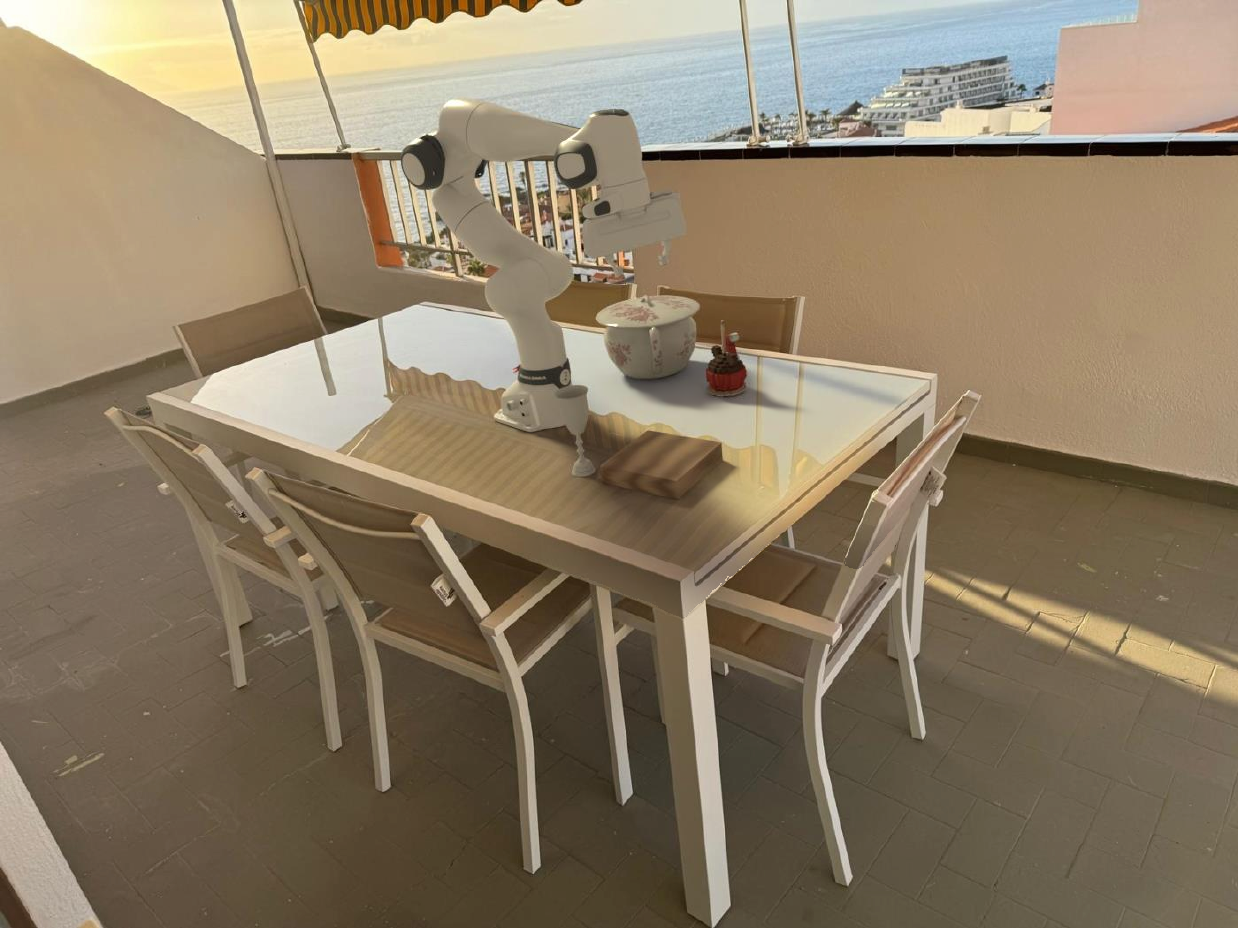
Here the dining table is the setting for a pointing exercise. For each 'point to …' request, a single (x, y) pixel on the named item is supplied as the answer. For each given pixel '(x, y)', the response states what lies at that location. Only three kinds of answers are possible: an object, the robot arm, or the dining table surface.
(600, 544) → the dining table surface
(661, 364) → the chamber pot
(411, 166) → the robot arm
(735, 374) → the cake
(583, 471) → the chalice
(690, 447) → the plinth
